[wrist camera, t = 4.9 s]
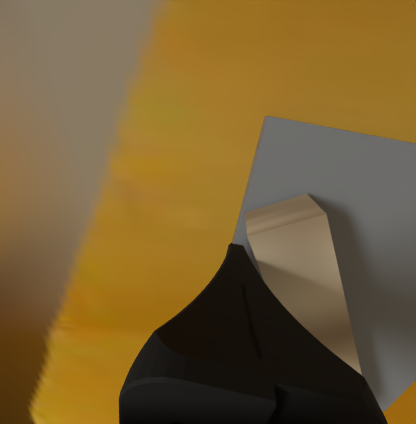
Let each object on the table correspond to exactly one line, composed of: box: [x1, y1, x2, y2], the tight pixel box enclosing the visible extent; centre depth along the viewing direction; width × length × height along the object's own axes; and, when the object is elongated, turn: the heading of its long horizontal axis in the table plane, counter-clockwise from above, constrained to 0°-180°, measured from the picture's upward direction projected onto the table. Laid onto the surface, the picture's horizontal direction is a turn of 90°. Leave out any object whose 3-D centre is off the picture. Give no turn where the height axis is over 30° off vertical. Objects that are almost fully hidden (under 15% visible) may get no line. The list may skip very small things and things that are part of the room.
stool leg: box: [245, 193, 362, 375], centre depth 12 cm, size 16×3×2 cm, turn 22°
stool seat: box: [232, 116, 416, 411], centre depth 13 cm, size 18×14×1 cm
